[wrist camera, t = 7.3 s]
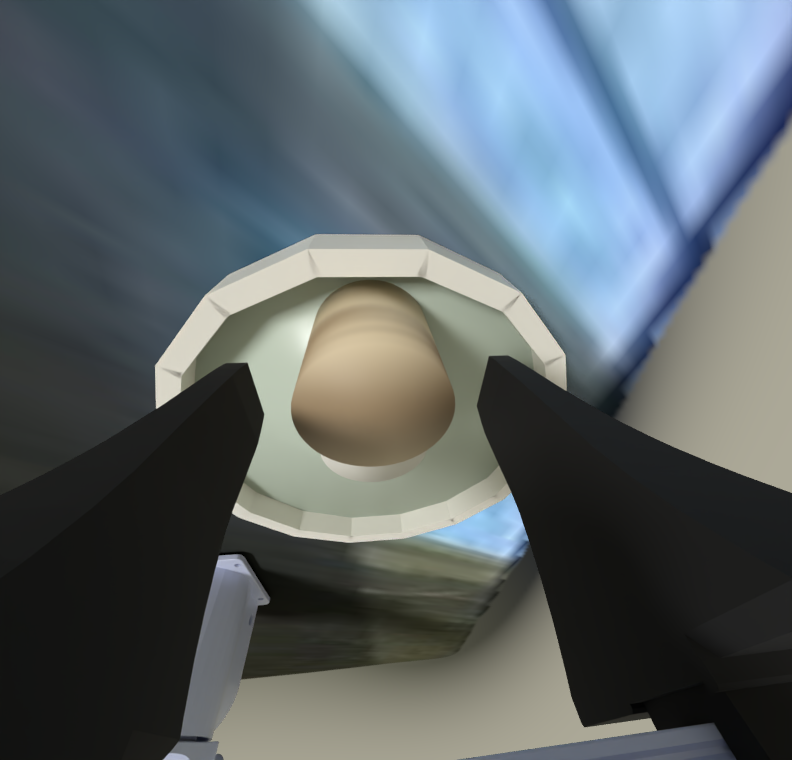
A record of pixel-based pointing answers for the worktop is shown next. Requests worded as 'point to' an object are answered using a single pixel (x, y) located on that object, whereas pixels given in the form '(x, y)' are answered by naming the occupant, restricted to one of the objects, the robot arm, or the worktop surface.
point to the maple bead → (371, 379)
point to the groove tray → (282, 358)
